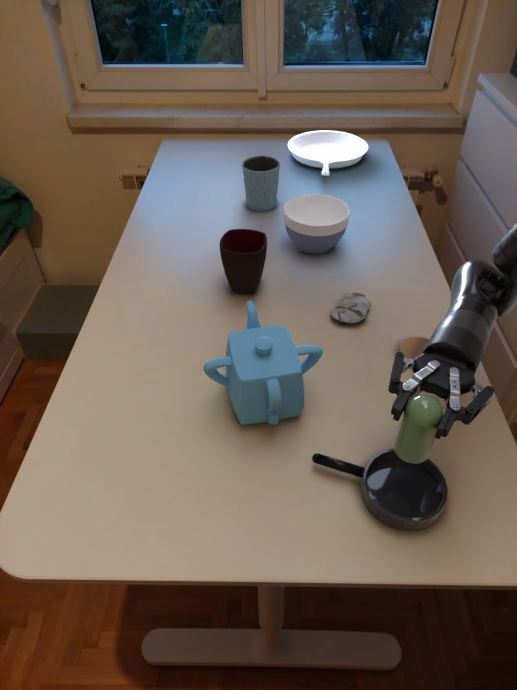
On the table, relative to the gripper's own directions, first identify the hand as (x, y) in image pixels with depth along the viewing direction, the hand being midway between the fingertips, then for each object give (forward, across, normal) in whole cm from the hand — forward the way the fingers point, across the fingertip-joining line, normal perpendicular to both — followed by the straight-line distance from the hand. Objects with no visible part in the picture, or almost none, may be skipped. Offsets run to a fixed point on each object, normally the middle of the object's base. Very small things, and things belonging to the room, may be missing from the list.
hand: (417, 425), depth 63 cm
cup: (-34, -49, +18) cm, 62 cm away
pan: (-102, -62, +18) cm, 121 cm away
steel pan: (-2, +1, +18) cm, 18 cm away
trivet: (-32, -7, +18) cm, 37 cm away
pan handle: (0, -9, +16) cm, 19 cm away
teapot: (-8, -28, +18) cm, 34 cm away
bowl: (-57, -43, +18) cm, 74 cm away
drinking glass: (-68, -66, +18) cm, 96 cm away
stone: (-36, -24, +18) cm, 47 cm away
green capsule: (-3, 0, +8) cm, 9 cm away
